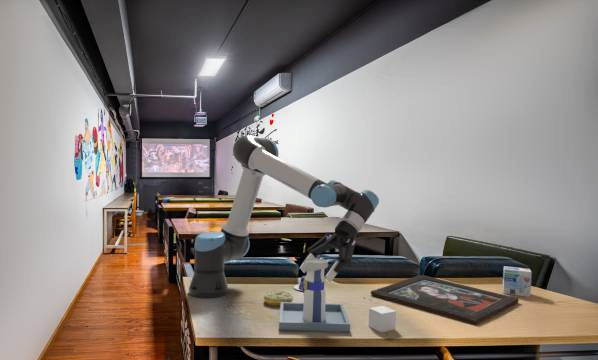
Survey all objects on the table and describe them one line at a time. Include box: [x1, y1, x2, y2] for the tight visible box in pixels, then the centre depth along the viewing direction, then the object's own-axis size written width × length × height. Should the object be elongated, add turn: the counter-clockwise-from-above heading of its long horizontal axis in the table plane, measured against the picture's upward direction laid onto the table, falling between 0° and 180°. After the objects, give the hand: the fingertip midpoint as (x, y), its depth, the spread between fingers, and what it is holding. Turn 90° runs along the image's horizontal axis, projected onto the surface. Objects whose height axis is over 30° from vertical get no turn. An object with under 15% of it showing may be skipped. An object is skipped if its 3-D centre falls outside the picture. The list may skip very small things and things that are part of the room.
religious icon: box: [370, 274, 519, 326], centre depth 170 cm, size 40×45×3 cm
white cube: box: [368, 305, 397, 333], centre depth 136 cm, size 6×6×6 cm
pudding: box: [293, 275, 306, 292], centre depth 178 cm, size 12×12×5 cm
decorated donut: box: [263, 290, 294, 307], centre depth 158 cm, size 10×11×4 cm
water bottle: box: [302, 244, 329, 322], centre depth 140 cm, size 8×8×25 cm
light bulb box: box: [502, 265, 533, 298], centre depth 182 cm, size 11×7×11 cm, turn 68°
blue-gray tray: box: [278, 301, 351, 334], centre depth 140 cm, size 22×20×3 cm
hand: (314, 274), depth 139 cm, fingers open, 13 cm apart
